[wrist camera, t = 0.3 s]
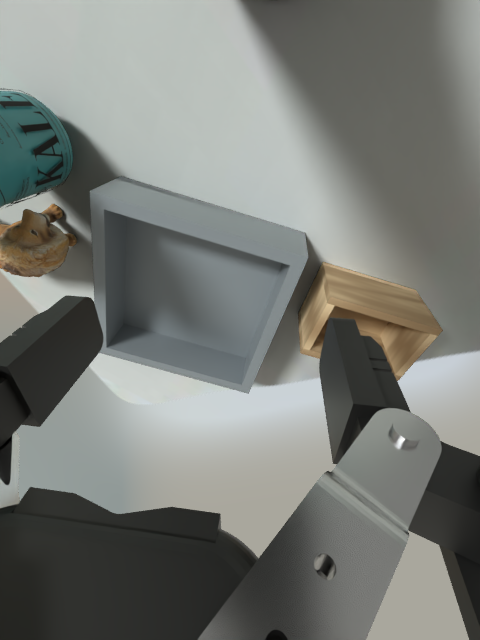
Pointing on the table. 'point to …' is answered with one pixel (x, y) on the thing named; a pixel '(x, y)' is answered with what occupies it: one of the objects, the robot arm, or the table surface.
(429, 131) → the table surface
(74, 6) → the table surface
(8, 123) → the beverage bottle
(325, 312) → the small oak crate
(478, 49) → the table surface
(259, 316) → the grey square tray
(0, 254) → the lion figurine
